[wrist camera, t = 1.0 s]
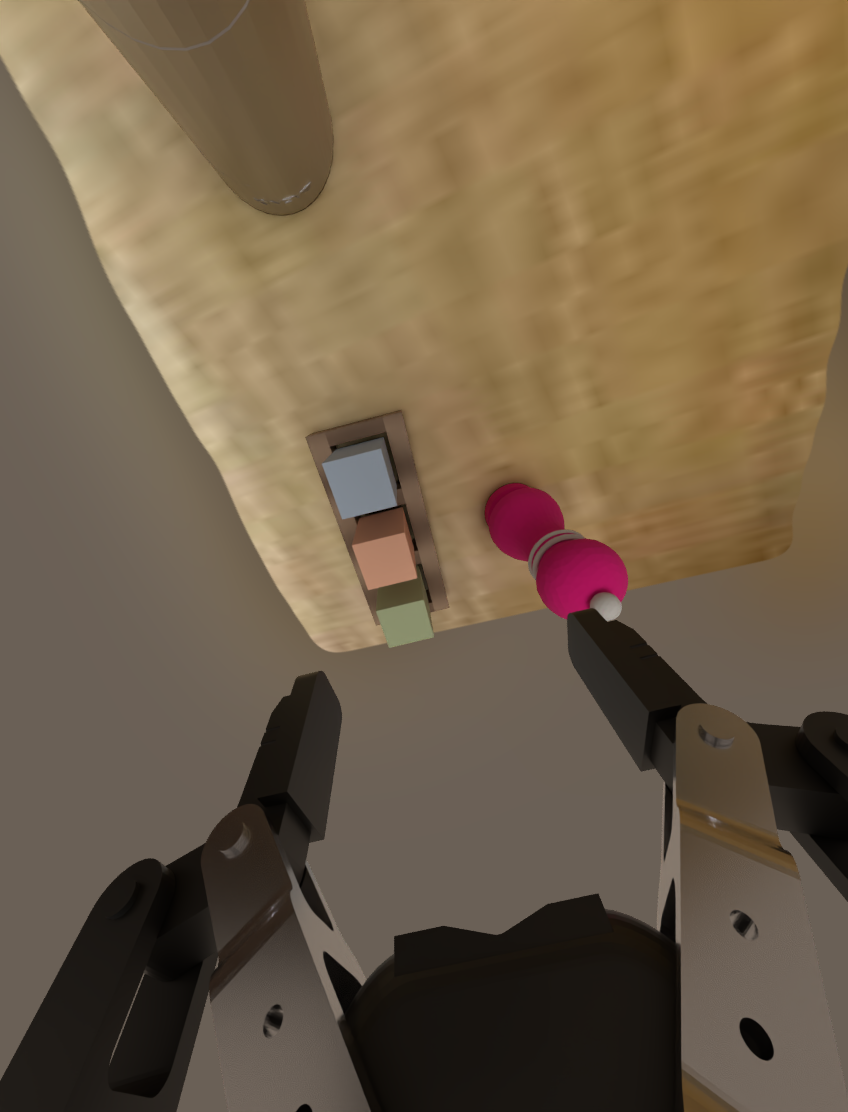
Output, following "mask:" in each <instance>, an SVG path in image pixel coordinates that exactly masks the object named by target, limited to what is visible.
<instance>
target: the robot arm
mask: <svg viewBox="0 0 848 1112" xmlns="http://www.w3.org/2000/svg"><path fill="white" fill-rule="evenodd" d="M78 1H79V2H80V3H81V5H82V6H83V7H84V8H85V9H86V11H87V12H88V13H89V14H90V16H91V17H92V18H93V19H94V21H95V22H96V23H97V24H98V26H99V27H100V28H101V29H102V30H103V32H104V33H105V34H106V35H107V37H108V38H109V39H110V40H111V42H112V43H113V44H114V45H115V46H116V48H117V49H118V50H119V51H120V53H121V54H122V55H123V56H124V58H125V59H126V60H127V61H128V63H129V64H130V65H131V66H132V67H133V69H134V70H135V71H136V72H137V74H138V75H139V76H140V77H141V79H142V80H143V81H144V82H145V83H146V85H147V86H148V87H149V88H150V90H151V91H152V92H153V93H154V95H155V96H156V97H157V98H158V100H159V101H160V102H161V103H162V104H163V106H164V107H165V108H166V109H167V111H168V112H169V113H170V114H171V116H172V117H173V118H174V119H175V120H176V122H177V123H178V124H179V125H180V127H181V128H182V129H183V130H184V132H185V133H186V134H187V135H188V137H189V138H190V139H191V140H192V141H193V143H194V144H195V145H196V147H197V148H198V149H199V150H200V152H201V153H202V154H203V155H204V157H205V158H206V159H207V160H208V161H209V163H210V164H211V165H212V166H213V168H214V169H215V170H216V171H217V173H218V174H219V175H220V176H221V177H222V179H223V180H224V181H225V182H226V184H227V185H228V186H229V187H230V188H231V189H232V190H233V191H234V192H235V193H236V194H237V195H238V196H239V197H240V198H241V199H242V200H244V201H245V202H247V203H248V204H249V205H251V206H252V207H254V208H256V209H259V210H261V211H263V212H266V213H270V214H276V215H285V214H293V213H295V212H298V211H300V210H302V209H304V208H306V207H307V206H308V205H309V204H310V203H312V202H313V201H314V200H315V199H316V197H317V196H318V194H319V193H320V192H321V190H322V189H323V187H324V184H325V182H326V180H327V177H328V175H329V171H330V167H331V162H332V157H333V129H332V120H331V115H330V110H329V106H328V102H327V97H326V93H325V88H324V84H323V80H322V75H321V70H320V66H319V61H318V56H317V52H316V48H315V43H314V39H313V35H312V30H311V26H310V22H309V17H308V13H307V9H306V4H305V0H78ZM567 627H568V650H569V655H570V658H571V661H572V663H573V666H574V668H575V669H576V671H577V672H578V674H579V675H580V677H581V679H582V680H583V681H584V683H585V685H586V686H587V688H588V689H589V691H590V693H591V694H592V695H593V697H594V699H595V700H596V702H597V704H598V705H599V707H600V708H601V710H602V711H603V713H604V715H605V716H606V717H607V719H608V721H609V722H610V724H611V725H612V727H613V729H614V730H615V731H616V733H617V735H618V736H619V738H620V740H621V741H622V743H623V744H624V746H625V747H626V749H627V750H628V752H629V753H630V755H631V757H632V758H633V760H634V761H635V763H636V764H637V766H638V768H639V769H640V771H646V770H650V769H655V768H656V770H657V771H658V773H659V774H660V776H661V777H662V778H663V780H664V785H663V814H662V849H661V851H662V852H661V873H660V882H659V893H658V909H657V930H656V929H654V928H653V927H651V926H649V925H648V924H646V923H644V922H642V921H640V920H638V919H636V918H633V917H632V916H629V915H627V914H623V913H620V912H617V911H614V910H608V909H604V907H603V904H602V901H601V899H600V897H599V894H593V895H589V896H584V897H579V898H574V899H570V900H565V901H560V902H556V903H551V904H547V905H545V906H544V907H542V908H541V909H539V910H538V911H536V912H535V913H533V914H532V915H530V916H529V917H527V918H526V919H524V920H523V921H521V922H520V923H518V924H516V925H515V926H513V927H512V928H510V929H509V930H507V931H506V932H504V933H502V934H499V935H492V934H487V933H481V932H475V931H470V930H464V929H459V928H453V927H447V926H441V927H436V928H431V929H426V930H422V931H417V932H412V933H408V934H403V935H398V936H395V937H394V954H393V955H392V956H390V957H389V958H388V959H387V960H385V961H384V962H383V963H382V964H381V965H380V966H379V967H378V968H377V969H376V970H375V971H374V972H373V973H372V974H371V975H370V977H369V978H368V979H367V980H366V978H365V976H364V974H363V972H362V970H361V968H360V966H359V964H358V962H357V960H356V958H355V957H354V955H353V953H352V951H351V950H350V948H349V947H348V945H347V944H346V942H345V940H344V939H343V937H342V935H341V933H340V931H339V929H338V927H337V925H336V923H335V920H334V919H333V916H332V914H331V912H330V910H329V907H328V905H327V903H326V901H325V898H324V896H323V894H322V892H321V890H320V888H319V885H318V883H317V881H316V879H315V877H314V875H313V872H312V870H311V868H310V866H309V863H308V862H307V860H306V857H307V851H308V846H309V843H310V842H315V841H319V840H323V839H324V836H325V830H326V823H327V816H328V809H329V803H330V796H331V789H332V783H333V775H334V769H335V762H336V755H337V749H338V742H339V736H340V728H341V722H342V712H341V706H340V703H339V700H338V698H337V696H336V694H335V693H334V690H333V689H332V687H331V685H330V683H329V681H328V679H327V677H326V675H325V673H324V672H323V671H318V672H314V673H309V674H305V675H301V676H298V677H297V678H296V680H295V683H294V686H293V689H292V692H291V695H289V696H285V697H283V698H282V699H281V701H280V702H279V704H278V705H277V706H276V708H275V709H274V711H273V712H272V714H271V716H270V719H269V722H268V725H267V728H266V733H264V736H263V738H262V741H261V747H259V750H258V752H257V755H256V758H255V760H254V763H253V766H252V769H251V771H250V774H249V777H248V780H247V782H246V785H245V788H244V791H243V794H242V796H241V799H240V802H239V804H238V806H237V808H236V809H234V810H232V811H231V812H229V813H228V814H227V815H226V816H225V817H224V818H222V819H221V821H220V822H219V823H218V824H217V825H216V826H215V828H214V829H213V830H212V832H211V834H210V835H209V837H208V839H207V841H206V843H204V844H203V845H202V846H200V847H198V848H196V849H194V850H193V851H191V852H189V853H188V854H186V855H184V856H182V857H181V858H179V859H177V860H175V861H174V862H172V863H170V864H168V865H167V866H164V865H163V864H161V863H160V862H159V861H158V860H156V859H151V858H150V859H144V860H141V861H139V862H137V863H135V864H133V865H132V866H130V867H129V868H127V869H126V870H125V871H123V872H122V873H121V874H120V875H119V876H118V877H117V878H116V879H115V880H114V881H113V882H112V883H111V884H110V885H109V886H108V887H107V888H106V890H105V891H104V892H103V893H102V895H101V896H100V898H99V899H98V901H97V902H96V904H95V905H94V908H93V909H92V911H91V912H90V914H89V916H88V918H87V920H86V922H85V924H84V926H83V927H82V929H81V931H80V933H79V935H78V937H77V939H76V941H75V942H74V944H73V946H72V948H71V950H70V952H69V954H68V955H67V957H66V959H65V961H64V963H63V965H62V967H61V968H60V971H59V972H58V974H57V976H56V978H55V980H54V982H53V984H52V985H51V987H50V989H49V991H48V993H47V995H46V997H45V998H44V1000H43V1002H42V1004H41V1006H40V1008H39V1010H38V1012H37V1013H36V1015H35V1017H34V1019H33V1021H32V1023H31V1025H30V1026H29V1029H28V1030H27V1032H26V1034H25V1036H24V1038H23V1040H22V1041H21V1043H20V1045H19V1047H18V1049H17V1051H16V1053H15V1055H14V1056H13V1058H12V1060H11V1062H10V1064H9V1066H8V1068H7V1069H6V1071H5V1073H4V1075H3V1077H2V1079H1V1081H0V1112H176V1110H177V1107H178V1103H179V1100H180V1096H181V1092H182V1088H183V1085H184V1081H185V1077H186V1074H187V1070H188V1066H189V1062H190V1059H191V1055H192V1051H193V1048H194V1044H195V1040H196V1036H197V1033H198V1029H199V1025H200V1021H201V1018H202V1014H203V1010H204V1007H205V1003H206V999H207V996H208V992H209V996H210V1004H211V1009H212V1016H213V1022H214V1028H215V1034H216V1040H217V1047H218V1053H219V1059H220V1065H221V1070H222V1077H223V1083H224V1090H225V1096H226V1102H227V1108H228V1112H848V1096H847V1091H846V1086H845V1081H844V1077H843V1072H842V1068H841V1064H840V1059H839V1054H838V1049H837V1045H836V1040H835V1035H834V1031H833V1026H832V1021H831V1017H830V1012H829V1007H828V1003H827V998H826V994H825V989H824V985H823V980H822V975H821V971H820V966H819V961H818V957H817V952H816V947H815V943H814V938H813V934H812V929H811V924H810V920H809V915H808V911H807V906H806V901H805V897H804V892H803V887H802V883H801V879H800V875H799V871H798V868H797V865H796V862H795V860H794V858H793V856H792V855H791V853H789V852H788V851H786V850H784V849H783V848H782V846H781V844H780V841H779V837H778V832H777V829H779V830H786V831H790V833H791V834H792V835H793V836H794V837H795V839H796V840H797V841H798V842H799V843H800V845H801V846H802V847H803V848H804V849H805V851H806V852H807V853H808V854H809V856H810V857H811V858H812V859H813V860H814V862H815V863H816V864H817V865H818V866H819V868H820V869H821V870H822V871H823V872H824V874H825V875H826V876H827V877H828V878H829V880H830V881H831V882H832V883H833V885H834V886H835V887H836V888H837V889H838V891H839V892H840V893H841V894H842V895H843V897H844V898H845V899H846V900H847V901H848V715H845V714H842V713H836V712H816V713H812V714H810V715H808V716H807V717H806V718H805V719H804V721H803V724H802V726H801V727H792V726H779V725H766V724H756V723H749V722H745V721H744V720H743V719H741V718H740V717H738V716H737V715H735V714H734V713H732V712H730V711H728V710H726V709H723V708H721V707H718V706H714V705H710V704H707V703H706V702H705V701H704V700H702V699H701V698H700V697H699V696H698V695H697V694H696V693H695V691H693V690H692V688H691V687H690V686H689V685H688V684H687V683H686V682H685V681H684V680H683V679H682V678H681V677H680V676H679V675H678V674H677V673H676V672H675V671H674V670H673V669H672V668H671V667H670V666H669V665H668V664H667V663H666V662H665V661H664V660H663V659H662V658H661V657H660V656H658V655H657V653H656V652H655V651H654V650H653V649H652V648H651V647H650V646H649V645H647V643H646V641H645V640H644V639H643V638H642V637H641V636H640V635H639V634H638V633H637V632H636V631H635V630H634V629H632V628H630V627H628V626H626V625H625V624H623V623H621V622H619V621H617V620H614V621H610V622H607V621H606V620H605V619H604V618H603V617H602V615H601V614H600V613H599V612H598V611H597V610H596V609H594V608H589V609H585V610H581V611H576V612H572V613H569V614H568V616H567ZM217 958H219V963H218V967H217V968H216V969H215V966H216V962H217ZM214 970H215V971H214ZM143 973H145V975H144V977H143V980H142V982H141V985H140V988H139V990H138V993H137V995H136V998H135V1001H134V1003H133V1006H132V1008H131V1011H130V1014H129V1016H128V1019H127V1021H126V1024H125V1027H124V1029H123V1032H122V1035H121V1037H120V1039H119V1042H118V1045H117V1048H116V1050H115V1052H114V1055H113V1058H112V1060H111V1063H110V1059H111V1056H112V1052H113V1050H114V1047H115V1045H116V1042H117V1039H118V1037H119V1034H120V1032H121V1029H122V1026H123V1024H124V1021H125V1019H126V1016H127V1014H128V1011H129V1009H130V1006H131V1004H132V1001H133V998H134V996H135V993H136V990H137V988H138V985H139V983H140V980H141V978H142V975H143ZM109 1064H110V1065H109Z"/></svg>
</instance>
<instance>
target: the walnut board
mask: <svg viewBox="0 0 848 1112" xmlns="http://www.w3.org/2000/svg"><path fill="white" fill-rule="evenodd" d="M384 432H387V436H388V440H389V444H390V447H391V451H392V455H393V458H394V462H395V466H396V470H397V473H398V477H399V482H396V484H397V506H398V505H402V504H406V507H407V510H408V514H409V518H410V522H411V525H412V529H413V533H414V536H415V540H412V542H413V546H414V554H415V562H416V564H420V563H422V566H423V570H424V574H425V577H426V581H427V585H428V588H429V589H428V590H426V593H427V597H428V602H429V609H430V612H434V611H438V610H442V609H447V608H449V604H448V600H447V596H446V592H445V588H444V584H443V579H442V575H441V571H440V567H439V563H438V559H437V555H436V551H435V547H434V542H433V538H432V534H431V530H430V526H429V522H428V518H427V514H426V510H425V505H424V501H423V497H422V493H421V489H420V485H419V481H418V477H417V472H416V468H415V464H414V460H413V456H412V452H411V448H410V444H409V440H408V435H407V431H406V427H405V423H404V419H403V415H402V411H401V410H400V411H396V412H392V413H389V414H385V415H381V416H377V417H373V418H369V419H366V420H362V421H358V422H354V423H350V424H346V425H343V426H339V427H335V428H331V429H327V430H323V431H320V432H316V433H312V434H310V435H308V436H307V437H306V440H307V443H308V445H309V448H310V451H311V453H312V456H313V459H314V461H315V464H316V467H317V469H318V472H319V475H320V477H321V480H322V483H323V485H324V488H325V491H326V493H327V496H328V499H329V501H330V504H331V507H332V509H333V512H334V515H335V517H336V520H337V523H338V525H339V528H340V531H341V533H342V536H343V539H344V541H345V544H346V547H347V549H348V552H349V555H350V557H351V560H352V563H353V565H354V568H355V571H356V573H357V576H358V578H359V581H360V584H361V586H362V589H363V592H364V594H365V597H366V600H367V602H368V605H369V608H370V610H371V613H372V616H373V618H374V621H375V624H376V625H380V621H379V618H378V616H377V613H376V604H377V592H378V588H375V589H371V590H368V588H367V586H366V583H365V580H364V577H363V575H362V572H361V569H360V567H359V564H358V561H357V558H356V556H355V553H354V550H353V547H352V543H353V539H354V536H355V532H356V528H357V525H358V521H359V518H360V515H359V516H355V517H351V518H347V519H343V520H342V518H341V515H340V512H339V509H338V507H337V504H336V501H335V498H334V496H333V493H332V490H331V488H330V485H329V482H328V479H327V477H326V474H325V471H324V468H323V466H322V463H323V462H324V461H325V460H326V459H327V458H328V457H329V456H330V455H331V454H332V453H333V452H334V451H335V450H336V449H337V447H336V445H338V444H342V443H346V442H350V441H354V440H357V439H361V438H365V437H369V436H373V435H377V434H381V433H384Z"/></svg>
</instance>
